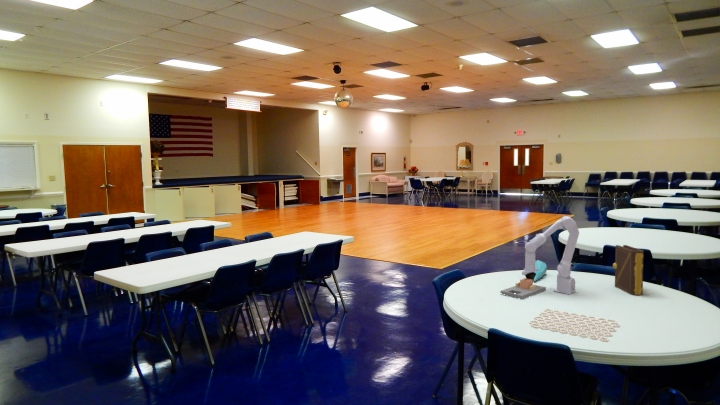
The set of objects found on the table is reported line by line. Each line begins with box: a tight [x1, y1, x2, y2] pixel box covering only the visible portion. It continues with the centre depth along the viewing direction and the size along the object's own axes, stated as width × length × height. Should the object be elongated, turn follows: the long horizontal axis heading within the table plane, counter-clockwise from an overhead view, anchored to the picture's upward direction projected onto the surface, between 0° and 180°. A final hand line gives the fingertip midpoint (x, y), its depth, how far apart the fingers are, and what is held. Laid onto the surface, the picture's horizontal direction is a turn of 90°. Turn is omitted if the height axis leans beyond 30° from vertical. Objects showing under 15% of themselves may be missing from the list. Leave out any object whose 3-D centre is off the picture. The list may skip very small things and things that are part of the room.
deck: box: [500, 281, 547, 300], centre depth 272 cm, size 14×25×4 cm, turn 129°
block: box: [519, 277, 534, 290], centre depth 274 cm, size 5×5×5 cm
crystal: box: [533, 259, 548, 282], centre depth 306 cm, size 10×34×10 cm, turn 153°
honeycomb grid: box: [528, 308, 621, 343], centre depth 219 cm, size 30×35×1 cm
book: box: [612, 244, 645, 296], centre depth 270 cm, size 22×8×25 cm, turn 179°
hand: (530, 284), depth 277 cm, fingers closed
